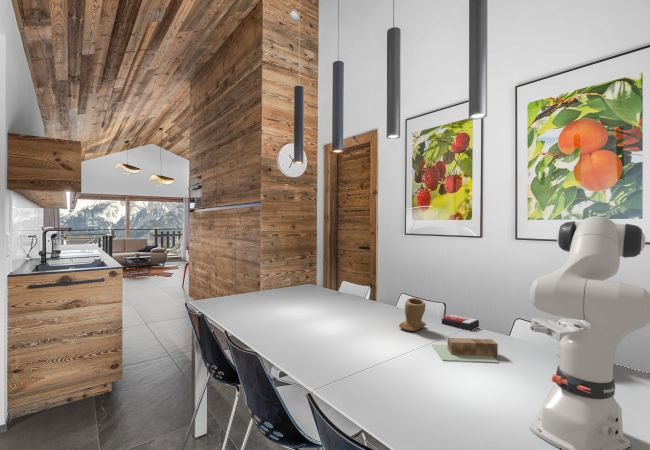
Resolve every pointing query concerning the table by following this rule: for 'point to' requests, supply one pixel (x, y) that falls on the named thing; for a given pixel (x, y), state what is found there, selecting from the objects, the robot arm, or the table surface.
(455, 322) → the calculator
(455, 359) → the mat
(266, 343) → the table surface
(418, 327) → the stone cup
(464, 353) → the walnut pillar
